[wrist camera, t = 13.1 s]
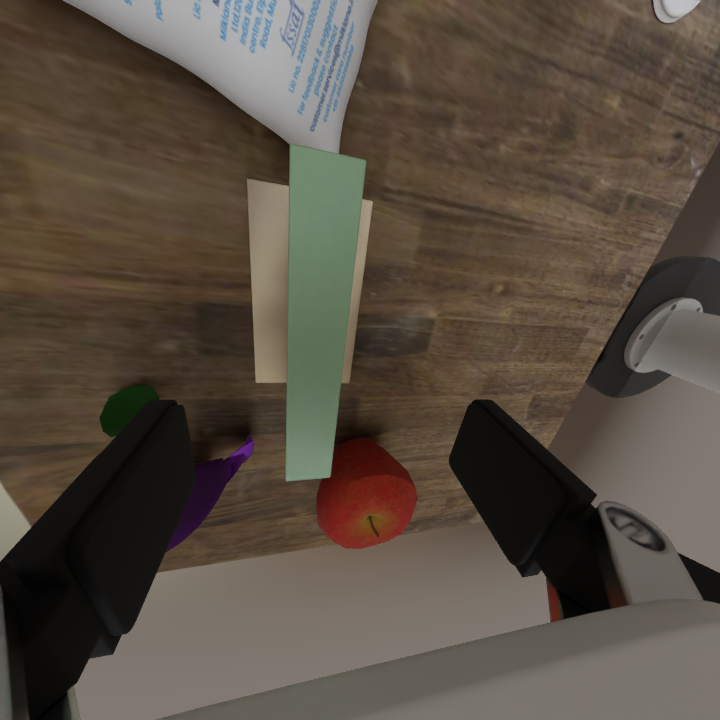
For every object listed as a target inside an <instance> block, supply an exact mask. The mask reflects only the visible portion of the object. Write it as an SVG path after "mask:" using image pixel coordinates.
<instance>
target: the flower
mask: <svg viewBox="0 0 720 720" xmlns="http://www.w3.org/2000/svg"><path fill="white" fill-rule="evenodd" d="M150 400H159V396H158V395H157V393H156V391H155V390H154V388H153V387H149V386H145V385H140V384H139V385H136V386H133V387H130V388H127V389H124V390H121V391H120V392H118V393H116V394H114V395H112V396H110V397H109V399H108V401H107V402H106V404H105V406H104V409H103V412H102V414H101V416H100V422H101V425H102V429H103V432H105V433H106V434H107V435H109V436H110V437H114V436H117V435H118V434H119V433H120V432H121V431H122V429H123V428H124V427H125V426H126V425H127V424H128V423H129V422H130V421H131V420H132V418H133V417H134V416H135V415H136V414H137V413H138V412H139V411H140V410H141V408H142V407H143V406H144V405H145V404H146V403H147V402H148V401H150ZM253 448H254V441H253V440H252V438H251V437H250V435H249V436H248V438H247V440H246V443H245V444H244V445H243V446H242V447H241V448H239V449H238V450H237V451H236V452H234V453H233V454H232V455H231V456H229V457H228V458H227V459H225V460H224V461H223V459H222V458H220V459H216V460H212V461H207V462H200V463H196V464H195V468H196V480H195V484H194V486H193V489H192V491H191V493H190V496H189V498H188V501H187V503H186V505H185V508H184V510H183V512H182V515H181V517H180V519H179V522H178V524H177V526H176V529H175V531H174V533H173V536H172V538H171V540H170V543H169V545H168V547H167V550H166V552H167V551H169V550H170V549H172V548H173V547H175V546H176V545H178V544H179V543H181V542H182V541H183V540H184V539H185V538H186V537H188V536H189V535H190V534H191V533H192V532H193V531H194V530H195V529H196V528H197V527H198V526H199V525H200V524H201V523H202V521H203V520H204V519H205V518H206V516H207V515H208V514H209V513H210V511H211V510H212V508H213V507H214V505H215V504H216V502H217V501H218V499H219V497H220V495H221V493H222V491H223V489H224V487H225V486H226V484H227V483H228V481H229V480H230V479H231V478H232V477H233V476H234V474H235V473H236V472H237V470H238V469H239V467H240V466H241V464H242V463H244V462H246V460H247V459H248V458H249V457H250V456H251V455H252V453H253ZM194 462H197V461H194Z"/></svg>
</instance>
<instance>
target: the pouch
mask: <svg viewBox="0 0 720 720" xmlns="http://www.w3.org/2000/svg"><path fill="white" fill-rule="evenodd" d="M62 1H64V2H66V3H68V4H70V5H72V6H74V7H76V8H78V9H80V10H82V11H84V12H85V13H87V14H89V15H91V16H93V17H94V18H96V19H98V20H99V21H101V22H103V23H104V24H106V25H108V26H109V27H111V28H113V29H114V30H116V31H118V32H119V33H121V34H123V35H124V36H126V37H128V38H129V39H131V40H133V41H135V42H137V43H139V44H141V45H143V46H145V47H147V48H149V49H151V50H153V51H155V52H157V53H159V54H161V55H163V56H165V57H167V58H168V59H170V60H172V61H174V62H176V63H177V64H179V65H181V66H182V67H184V68H186V69H187V70H189V71H190V72H192V73H193V74H195V75H196V76H198V77H199V78H201V79H202V80H204V81H205V82H207V83H208V84H209V85H211V86H212V87H213V88H215V89H216V90H217V91H219V92H220V93H221V94H222V95H224V96H225V97H226V98H228V99H229V100H230V101H231V102H233V103H234V104H235V105H237V106H238V107H239V108H241V109H242V110H243V111H245V112H246V113H247V114H249V115H250V116H252V117H253V118H255V119H256V120H257V121H259V122H260V123H262V124H263V125H265V126H266V127H268V128H269V129H271V130H272V131H273V132H275V133H276V134H278V135H279V136H280V137H281V138H283V139H284V140H285V141H286V142H287V143H289V144H296V145H300V146H305V147H310V148H314V149H319V150H323V151H328V152H332V153H337V154H339V147H340V138H341V131H342V125H343V120H344V115H345V111H346V107H347V104H348V101H349V98H350V95H351V92H352V89H353V86H354V83H355V80H356V77H357V74H358V71H359V67H360V64H361V60H362V56H363V51H364V46H365V41H366V36H367V31H368V27H369V23H370V20H371V17H372V14H373V12H374V9H375V7H376V4H377V2H378V0H62Z"/></svg>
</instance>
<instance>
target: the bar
mask: <svg viewBox="0 0 720 720" xmlns="http://www.w3.org/2000/svg"><path fill="white" fill-rule="evenodd" d="M365 171H366V160H364V159H360V158H355V157H351V156H346V155H341V154H337V153H332V152H328V151H323V150H319V149H314V148H310V147H305V146H300V145H296V144H290V155H289V235H288V315H287V395H286V475H285V480H286V481H296V480H308V479H320V478H330V477H331V468H332V459H333V451H334V442H335V433H336V424H337V416H338V407H339V398H340V389H341V381H342V372H343V363H344V354H345V346H346V337H347V328H348V319H349V311H350V302H351V293H352V284H353V276H354V267H355V258H356V249H357V241H358V232H359V223H360V214H361V206H362V197H363V188H364V179H365Z"/></svg>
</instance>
